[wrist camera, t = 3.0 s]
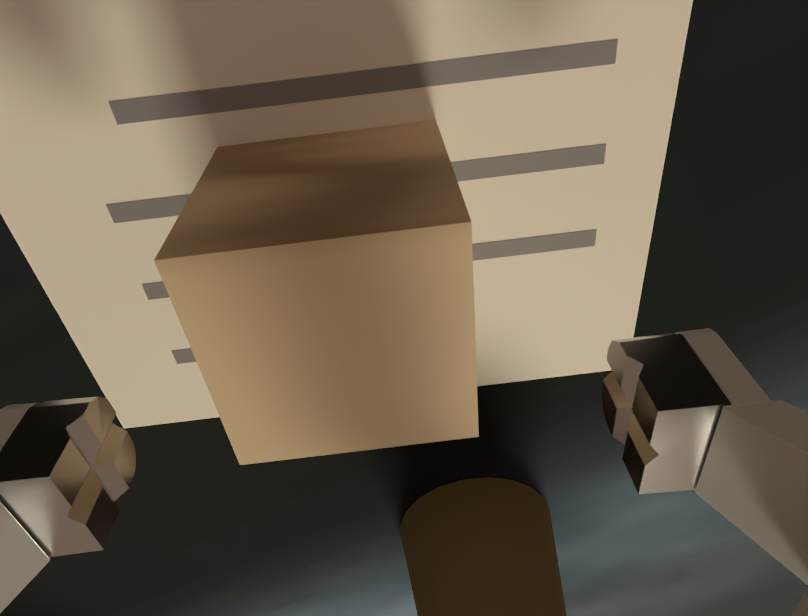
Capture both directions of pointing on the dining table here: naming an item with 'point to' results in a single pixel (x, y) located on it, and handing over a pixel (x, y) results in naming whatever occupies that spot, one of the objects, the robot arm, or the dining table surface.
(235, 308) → the oak cube
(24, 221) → the letter
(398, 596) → the dining table surface
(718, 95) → the dining table surface
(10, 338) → the dining table surface
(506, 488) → the cork
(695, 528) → the dining table surface
